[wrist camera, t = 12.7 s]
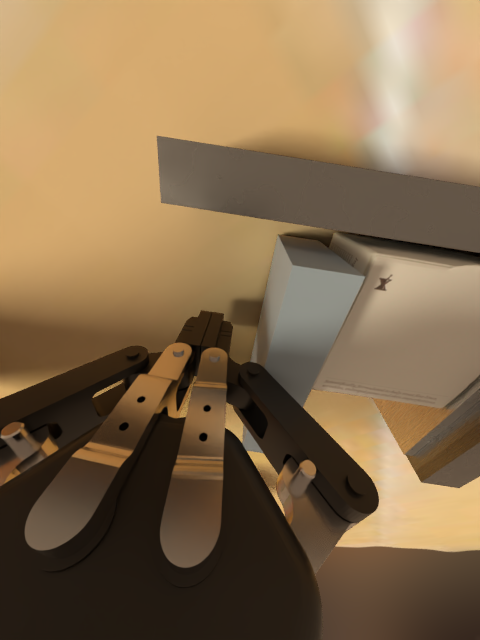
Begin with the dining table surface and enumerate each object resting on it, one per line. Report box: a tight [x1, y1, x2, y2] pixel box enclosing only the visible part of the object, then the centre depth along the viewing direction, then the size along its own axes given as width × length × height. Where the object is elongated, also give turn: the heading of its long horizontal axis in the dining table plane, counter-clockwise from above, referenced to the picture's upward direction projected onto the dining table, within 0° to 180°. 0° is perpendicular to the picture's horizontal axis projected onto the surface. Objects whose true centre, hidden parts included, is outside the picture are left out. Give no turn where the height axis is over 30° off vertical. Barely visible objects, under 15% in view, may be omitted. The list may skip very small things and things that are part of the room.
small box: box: [312, 233, 480, 408], centre depth 12 cm, size 8×8×5 cm
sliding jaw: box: [242, 234, 365, 453], centre depth 12 cm, size 3×12×6 cm, turn 172°
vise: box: [157, 136, 480, 488], centre depth 12 cm, size 19×15×7 cm
